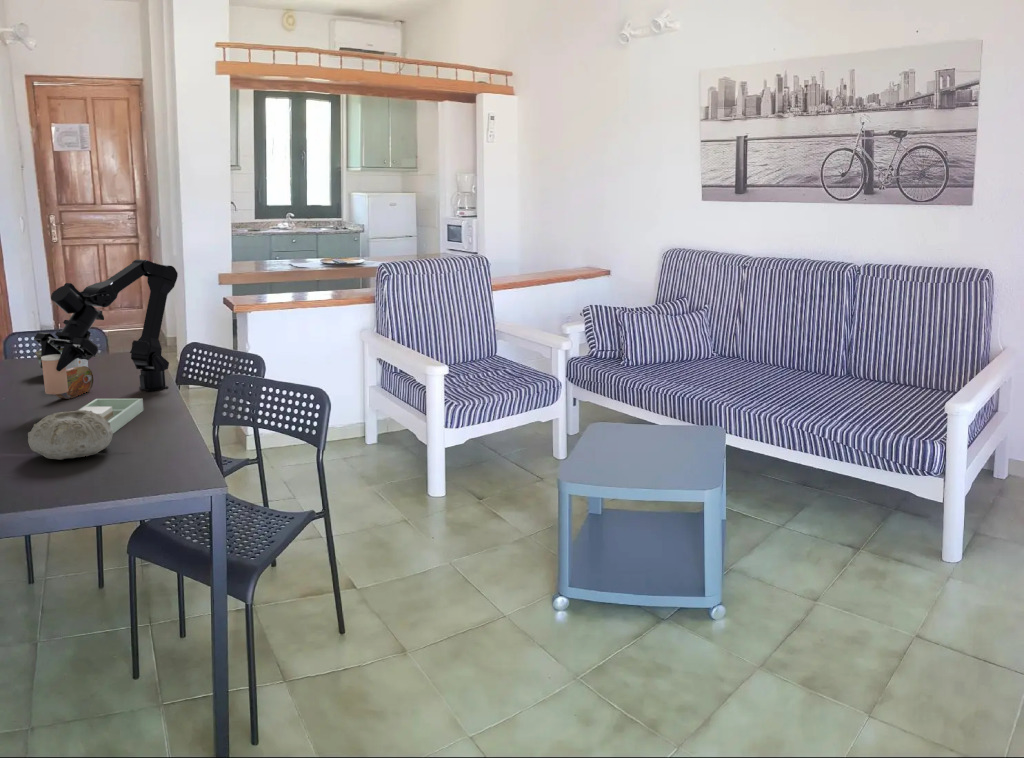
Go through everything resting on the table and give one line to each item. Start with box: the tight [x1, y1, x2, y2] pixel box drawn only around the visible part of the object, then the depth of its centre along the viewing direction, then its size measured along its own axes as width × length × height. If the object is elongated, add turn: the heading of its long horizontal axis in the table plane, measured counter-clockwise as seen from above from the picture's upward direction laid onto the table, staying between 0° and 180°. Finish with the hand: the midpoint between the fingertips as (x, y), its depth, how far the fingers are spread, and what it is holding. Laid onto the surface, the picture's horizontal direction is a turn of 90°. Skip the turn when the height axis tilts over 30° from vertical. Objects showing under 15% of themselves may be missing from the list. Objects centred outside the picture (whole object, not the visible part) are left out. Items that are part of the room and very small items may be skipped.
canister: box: [41, 354, 68, 395], centre depth 231 cm, size 6×6×10 cm
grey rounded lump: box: [27, 409, 114, 461], centre depth 199 cm, size 18×18×10 cm
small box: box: [66, 358, 89, 370], centre depth 268 cm, size 8×6×10 cm
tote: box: [78, 398, 144, 434], centre depth 224 cm, size 24×13×4 cm, turn 5°
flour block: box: [79, 406, 113, 421], centre depth 218 cm, size 7×7×5 cm
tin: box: [54, 366, 94, 400], centre depth 253 cm, size 15×3×8 cm, turn 168°
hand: (49, 369), depth 230 cm, fingers closed on canister, 6 cm apart
